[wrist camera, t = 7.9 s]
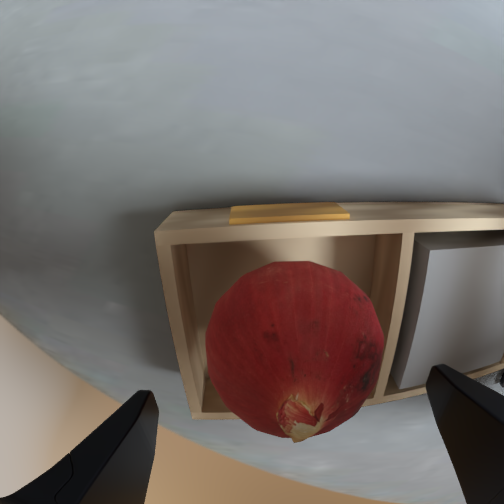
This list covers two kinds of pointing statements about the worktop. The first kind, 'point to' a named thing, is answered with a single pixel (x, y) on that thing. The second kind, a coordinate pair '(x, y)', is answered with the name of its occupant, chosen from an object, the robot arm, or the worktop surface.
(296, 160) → the worktop surface
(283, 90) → the worktop surface
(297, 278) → the red rounded piece
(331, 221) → the wooden compartment tray
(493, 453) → the robot arm
